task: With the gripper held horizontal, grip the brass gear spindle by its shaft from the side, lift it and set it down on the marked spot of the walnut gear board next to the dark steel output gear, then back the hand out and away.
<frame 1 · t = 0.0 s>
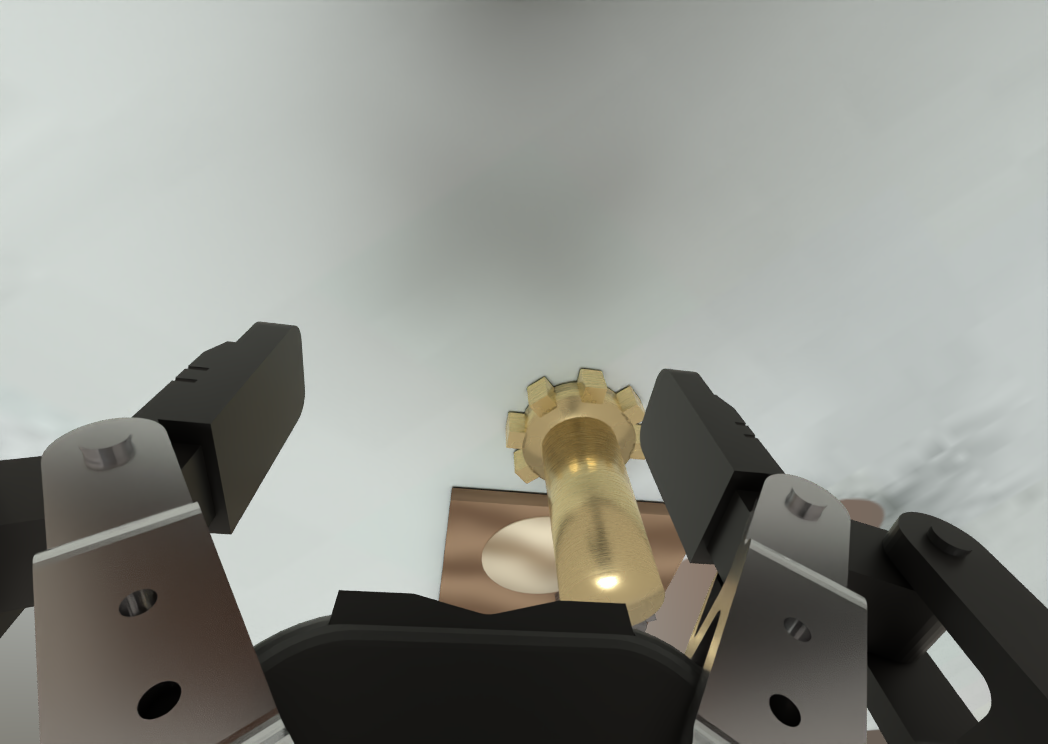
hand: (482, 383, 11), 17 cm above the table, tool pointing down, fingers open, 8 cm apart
brass gear spindle: (574, 426, 34), on the table
gear board: (557, 567, 43), on the table
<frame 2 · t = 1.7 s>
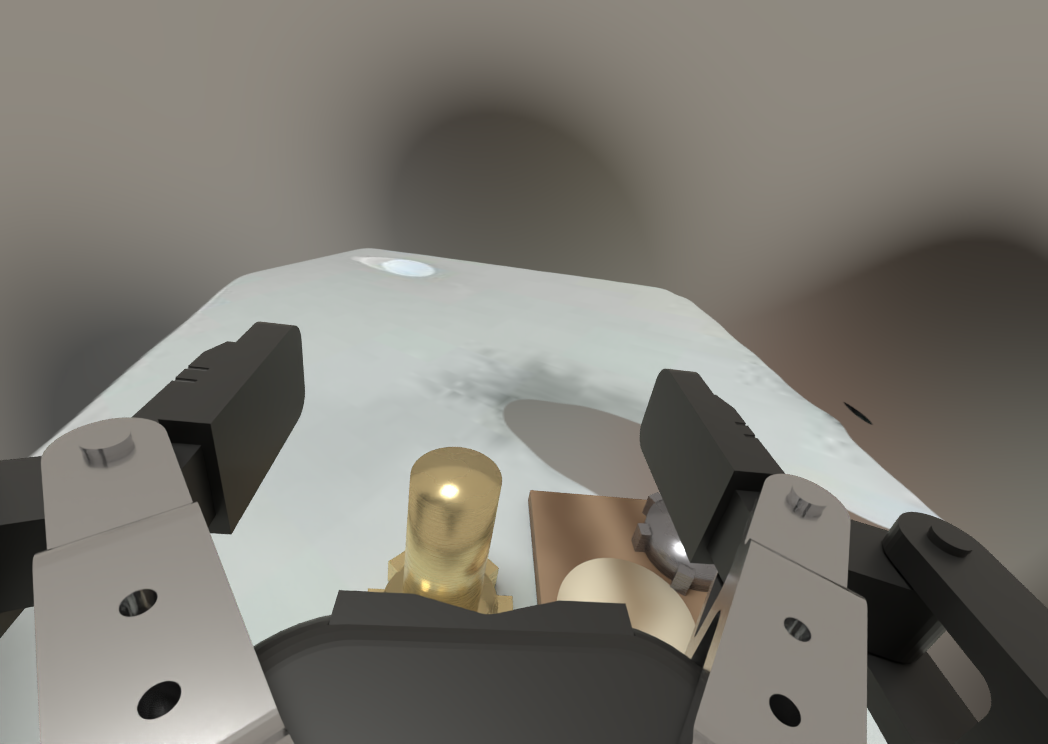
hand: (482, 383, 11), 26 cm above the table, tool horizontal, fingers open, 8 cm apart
output gear: (683, 559, 41), resting on gear board
brass gear spindle: (438, 620, 33), on the table
gear board: (653, 605, 37), on the table
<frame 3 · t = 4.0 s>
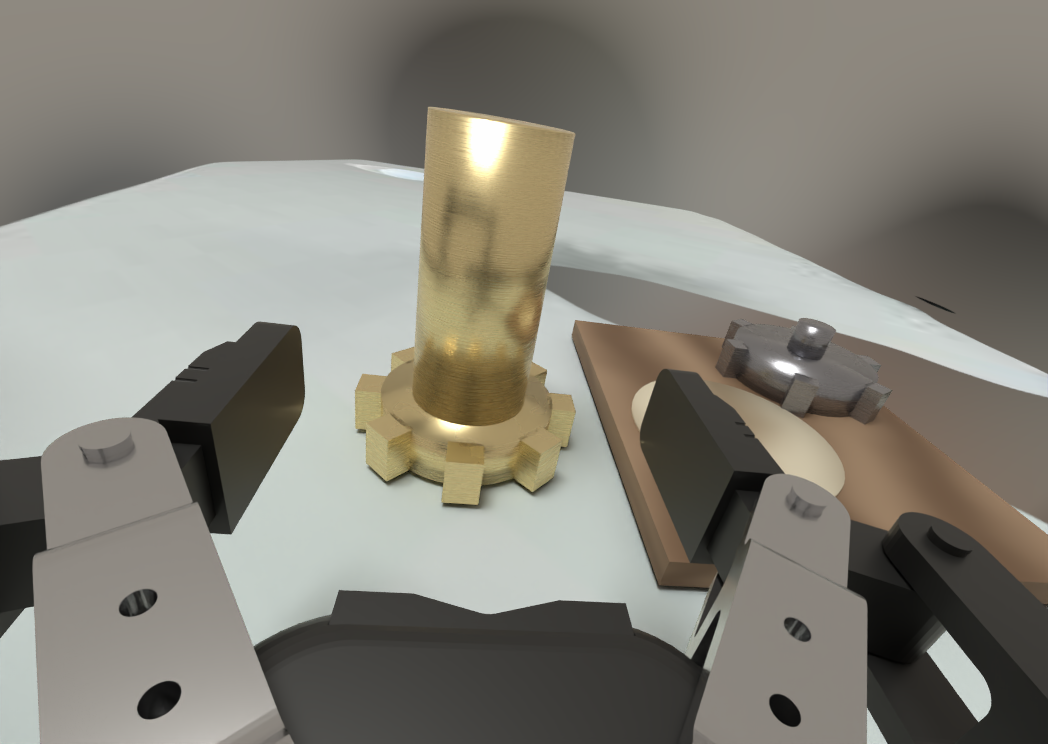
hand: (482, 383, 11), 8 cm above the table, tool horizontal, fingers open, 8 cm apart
output gear: (782, 396, 31), resting on gear board
brass gear spindle: (464, 428, 23), on the table
gear board: (758, 433, 27), on the table
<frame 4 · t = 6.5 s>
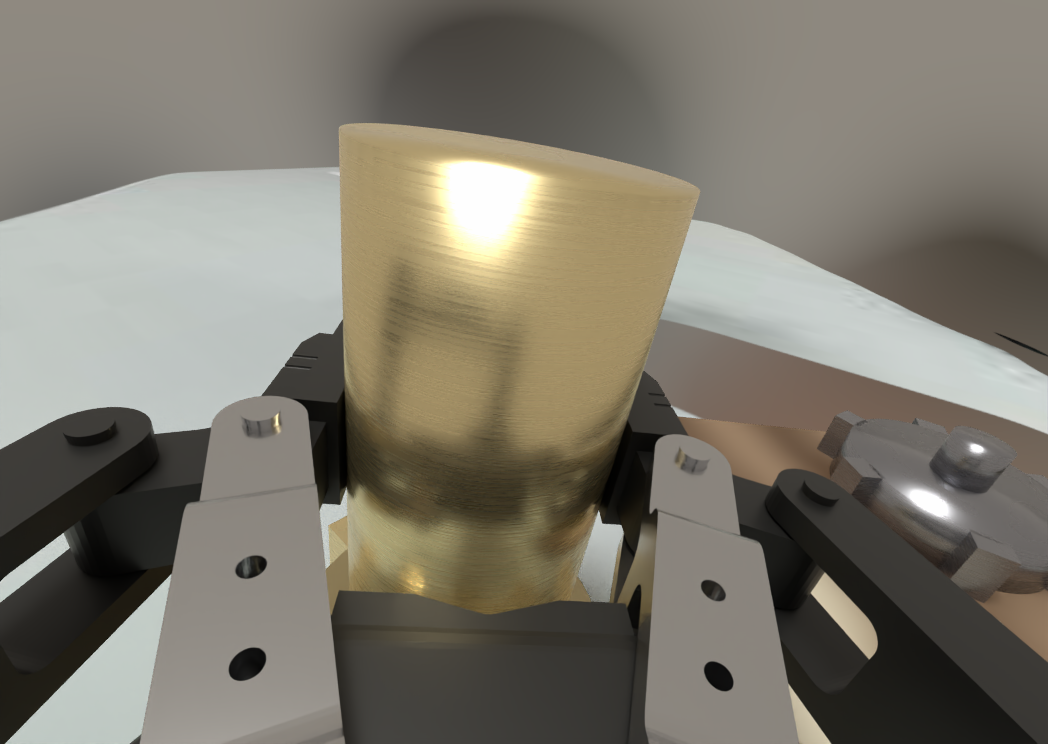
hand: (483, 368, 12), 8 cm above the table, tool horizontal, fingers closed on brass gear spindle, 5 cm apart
output gear: (915, 530, 22), resting on gear board
brass gear spindle: (448, 669, 13), on the table, touching gripper
gear board: (912, 623, 17), on the table
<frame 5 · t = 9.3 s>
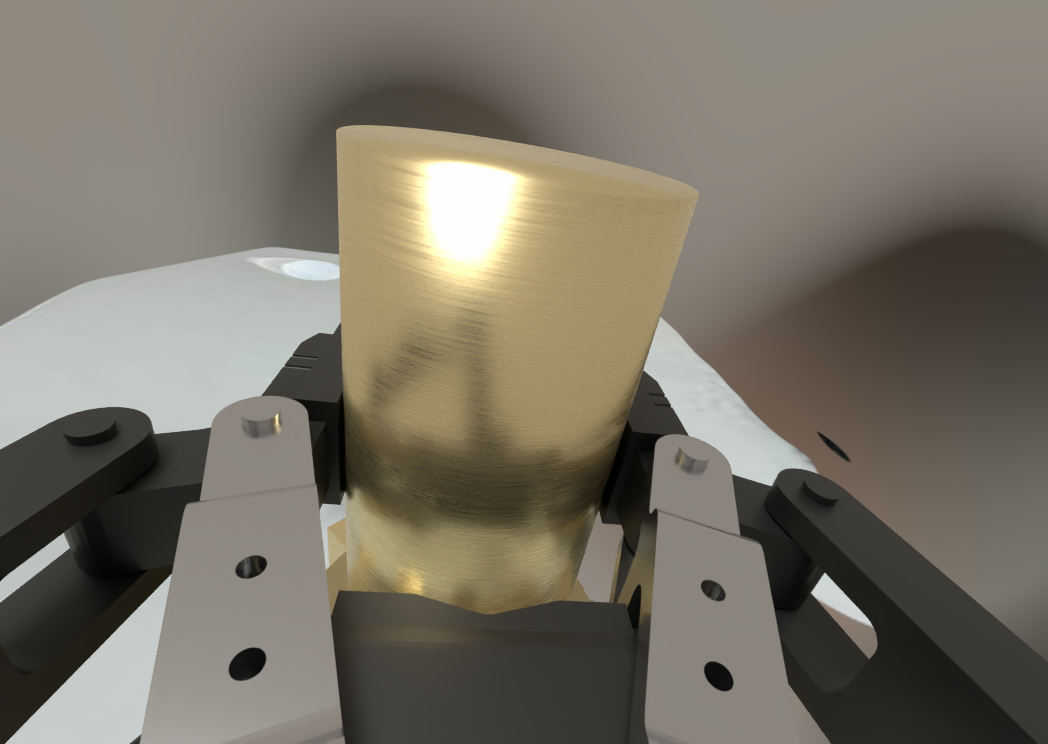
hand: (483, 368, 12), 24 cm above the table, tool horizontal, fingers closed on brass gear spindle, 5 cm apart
brass gear spindle: (447, 671, 13), point 16 cm above the table, touching gripper
when the fingers open (11 cm above the table, at t = 12.4 s): brass gear spindle drops 1 cm, resting on gear board.
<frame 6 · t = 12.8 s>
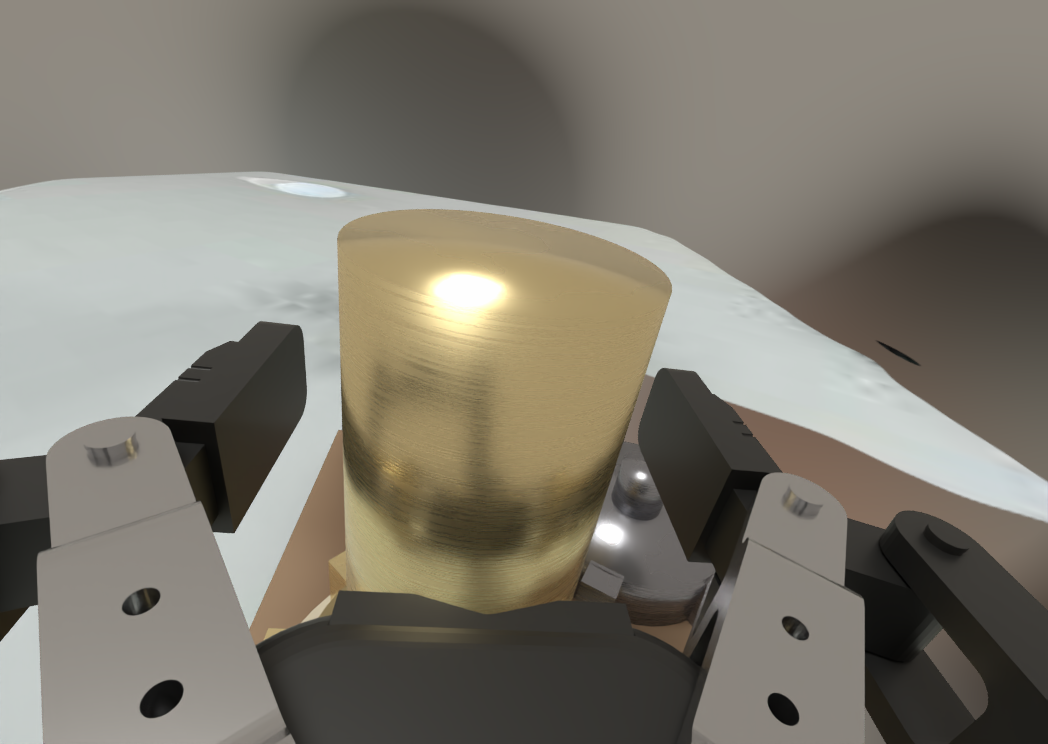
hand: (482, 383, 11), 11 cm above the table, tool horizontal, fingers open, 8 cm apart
output gear: (616, 555, 21), resting on gear board
brass gear spindle: (443, 701, 14), point 1 cm above the table, touching gear board
gear board: (533, 657, 17), on the table
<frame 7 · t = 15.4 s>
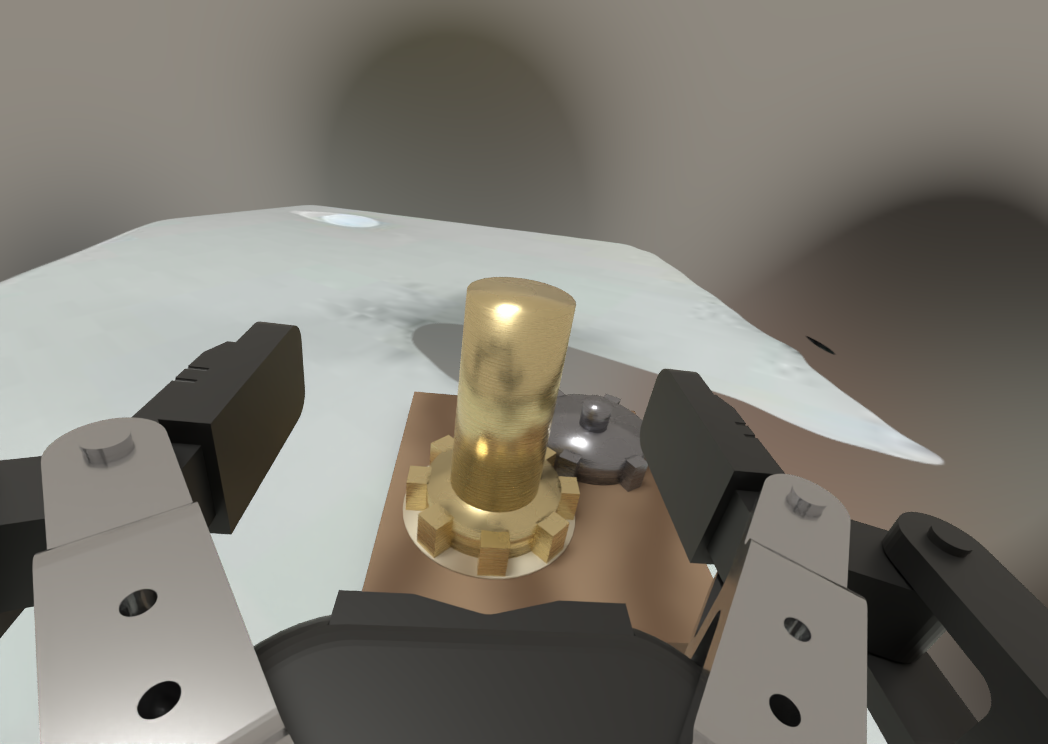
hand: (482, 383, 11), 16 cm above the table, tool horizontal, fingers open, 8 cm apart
output gear: (584, 460, 36), resting on gear board
brass gear spindle: (491, 506, 28), point 1 cm above the table, touching gear board
gear board: (535, 500, 31), on the table
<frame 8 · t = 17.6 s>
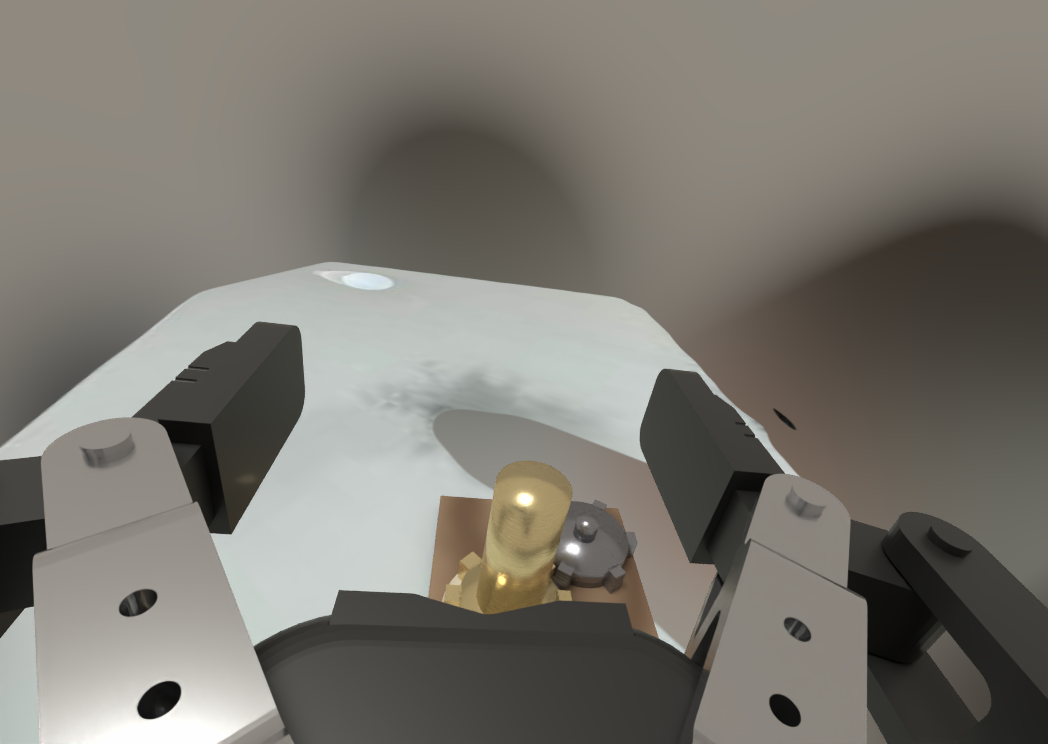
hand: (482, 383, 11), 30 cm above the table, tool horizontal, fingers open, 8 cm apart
output gear: (576, 558, 45), resting on gear board
brass gear spindle: (505, 612, 38), point 1 cm above the table, touching gear board
gear board: (538, 600, 40), on the table
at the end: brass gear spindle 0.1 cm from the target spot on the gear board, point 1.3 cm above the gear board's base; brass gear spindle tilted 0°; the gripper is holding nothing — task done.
